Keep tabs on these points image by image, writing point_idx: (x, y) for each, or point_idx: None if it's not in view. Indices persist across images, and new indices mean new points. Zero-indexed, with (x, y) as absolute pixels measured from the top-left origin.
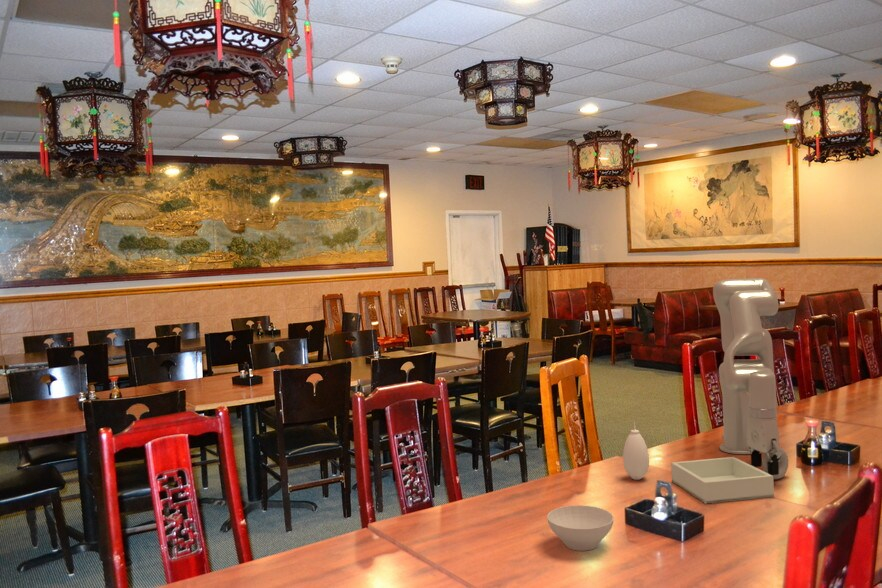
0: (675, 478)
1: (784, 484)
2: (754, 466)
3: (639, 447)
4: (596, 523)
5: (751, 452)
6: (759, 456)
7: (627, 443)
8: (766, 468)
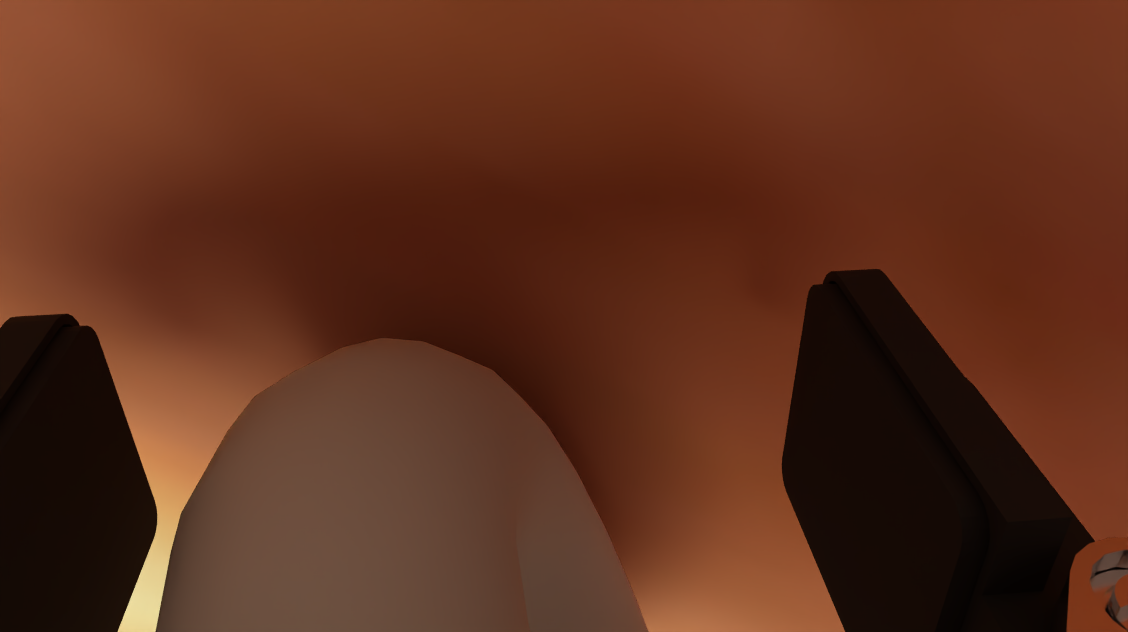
0: None
1: (157, 449)
2: (808, 319)
3: None
4: None
5: (1111, 589)
6: None
7: None
8: (237, 429)
